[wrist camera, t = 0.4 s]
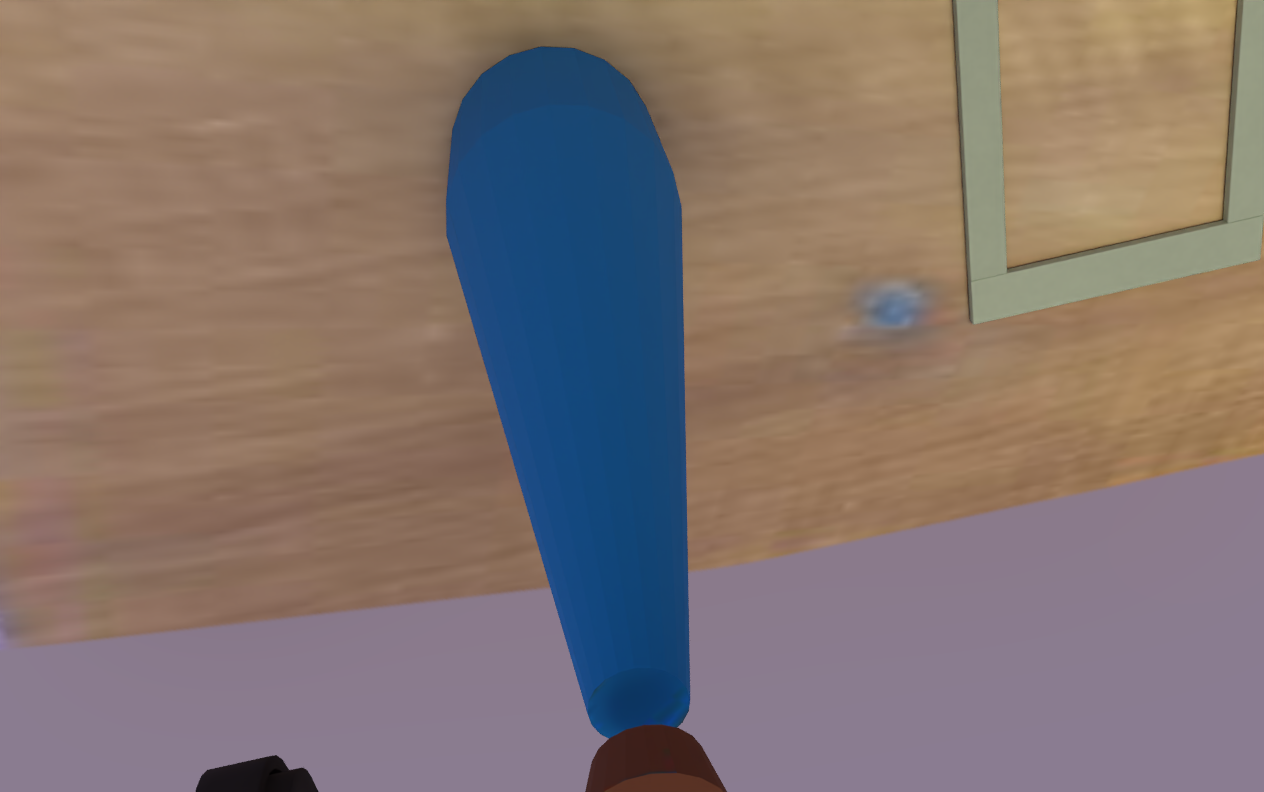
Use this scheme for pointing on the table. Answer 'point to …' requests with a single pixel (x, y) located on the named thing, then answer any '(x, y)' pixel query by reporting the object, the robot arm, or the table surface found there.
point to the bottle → (589, 380)
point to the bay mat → (1253, 194)
